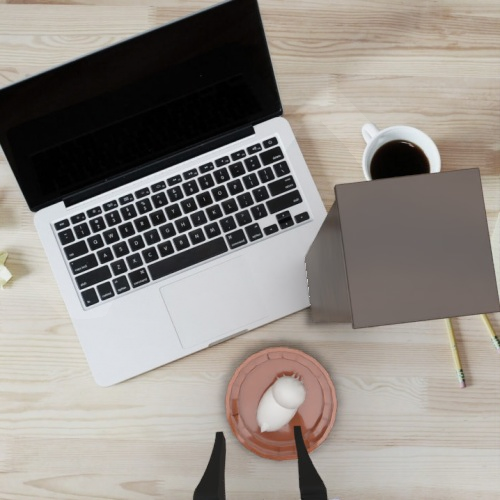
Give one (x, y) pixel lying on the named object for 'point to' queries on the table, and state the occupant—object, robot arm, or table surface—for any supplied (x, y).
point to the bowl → (307, 416)
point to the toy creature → (280, 403)
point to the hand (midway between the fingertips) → (259, 432)
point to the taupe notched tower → (403, 252)
